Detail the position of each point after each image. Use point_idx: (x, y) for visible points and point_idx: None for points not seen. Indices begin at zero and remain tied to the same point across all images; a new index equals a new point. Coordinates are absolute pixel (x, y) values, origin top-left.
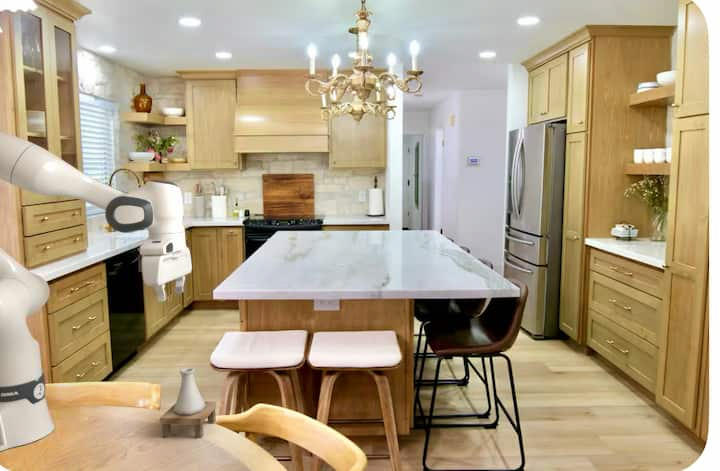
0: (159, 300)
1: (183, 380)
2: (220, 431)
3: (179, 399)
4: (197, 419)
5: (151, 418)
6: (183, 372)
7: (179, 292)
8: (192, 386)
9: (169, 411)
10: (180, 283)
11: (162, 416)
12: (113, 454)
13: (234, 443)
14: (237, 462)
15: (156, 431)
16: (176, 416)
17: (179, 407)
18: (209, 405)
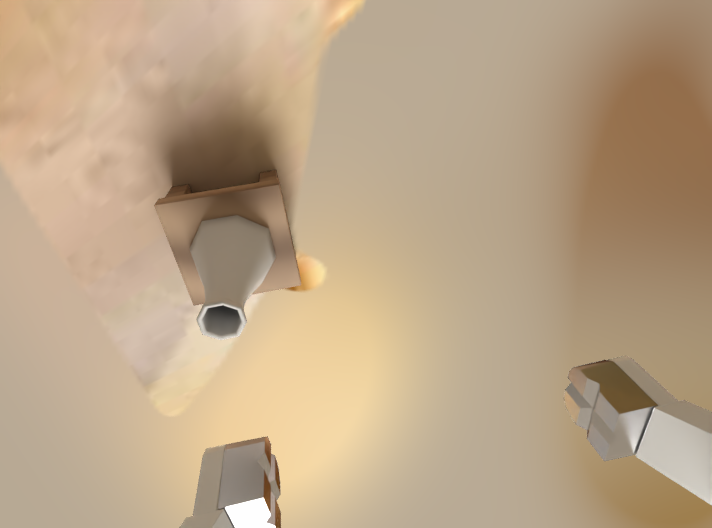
0: (209, 461)
1: (206, 298)
2: None
3: (201, 257)
4: (191, 298)
5: (264, 73)
6: (198, 321)
7: (571, 403)
8: (222, 307)
9: (203, 205)
10: (681, 463)
11: (165, 207)
12: (32, 114)
13: (210, 343)
14: (146, 380)
15: (196, 146)
16: (182, 243)
17: (194, 253)
18: (273, 283)
